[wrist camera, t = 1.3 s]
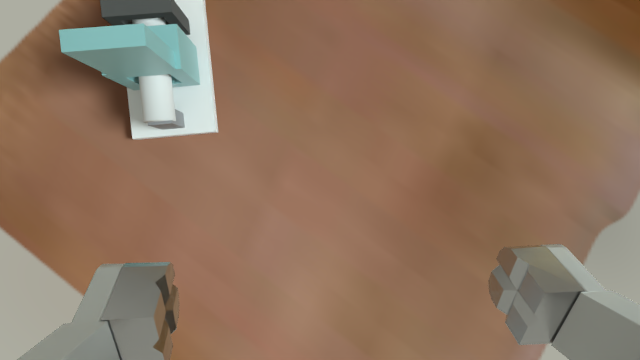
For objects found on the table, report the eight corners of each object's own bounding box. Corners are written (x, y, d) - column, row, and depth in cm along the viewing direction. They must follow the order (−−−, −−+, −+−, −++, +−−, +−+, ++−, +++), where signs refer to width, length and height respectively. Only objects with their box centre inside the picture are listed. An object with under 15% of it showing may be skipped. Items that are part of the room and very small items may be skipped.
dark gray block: (129, 24, 43) (100, 0, 36) (188, 20, 43) (170, -5, 37) (130, 39, 43) (101, 17, 37) (190, 34, 43) (171, 11, 37)
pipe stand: (113, -80, 45) (77, -127, 38) (196, -85, 45) (176, -133, 38) (136, 139, 45) (106, 134, 38) (218, 132, 46) (203, 125, 39)
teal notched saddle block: (129, 52, 43) (47, -4, 29) (196, 47, 43) (147, -11, 29) (133, 90, 43) (54, 52, 29) (200, 84, 44) (153, 45, 30)
